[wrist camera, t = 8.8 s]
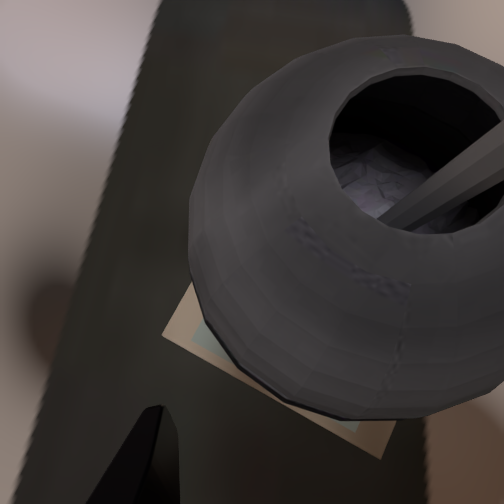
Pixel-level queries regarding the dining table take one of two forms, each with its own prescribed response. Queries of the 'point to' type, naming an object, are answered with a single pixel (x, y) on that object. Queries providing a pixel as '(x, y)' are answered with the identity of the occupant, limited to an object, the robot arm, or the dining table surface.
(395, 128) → the beverage cup
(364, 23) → the dining table surface
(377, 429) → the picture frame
